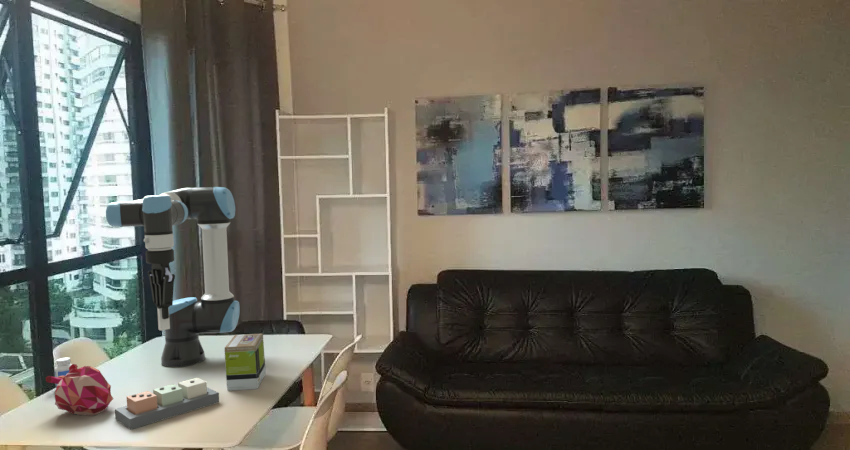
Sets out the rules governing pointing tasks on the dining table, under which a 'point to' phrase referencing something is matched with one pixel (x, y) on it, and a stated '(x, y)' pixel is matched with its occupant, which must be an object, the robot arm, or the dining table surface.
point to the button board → (165, 410)
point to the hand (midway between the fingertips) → (164, 329)
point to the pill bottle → (62, 367)
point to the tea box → (245, 362)
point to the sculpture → (82, 391)
